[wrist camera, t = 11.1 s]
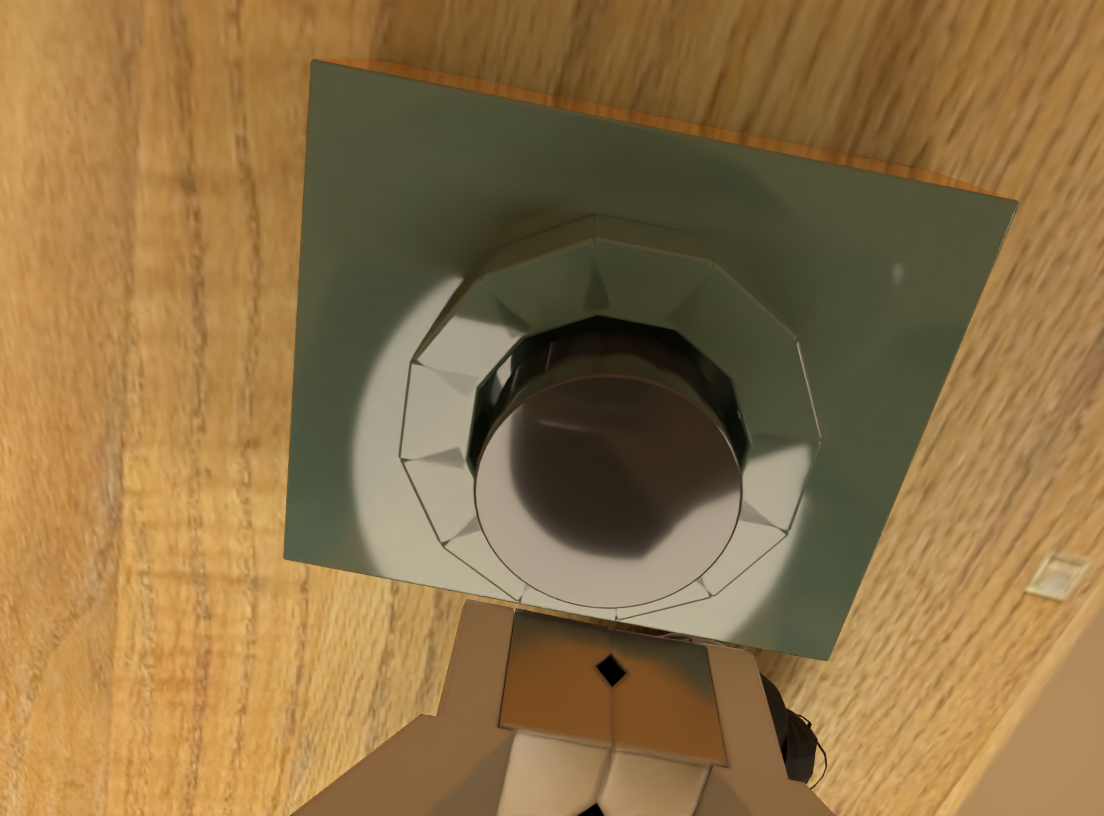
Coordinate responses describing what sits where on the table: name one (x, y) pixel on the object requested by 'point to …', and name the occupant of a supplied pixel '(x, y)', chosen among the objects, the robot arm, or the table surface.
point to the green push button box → (614, 327)
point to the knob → (607, 472)
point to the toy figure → (781, 726)
